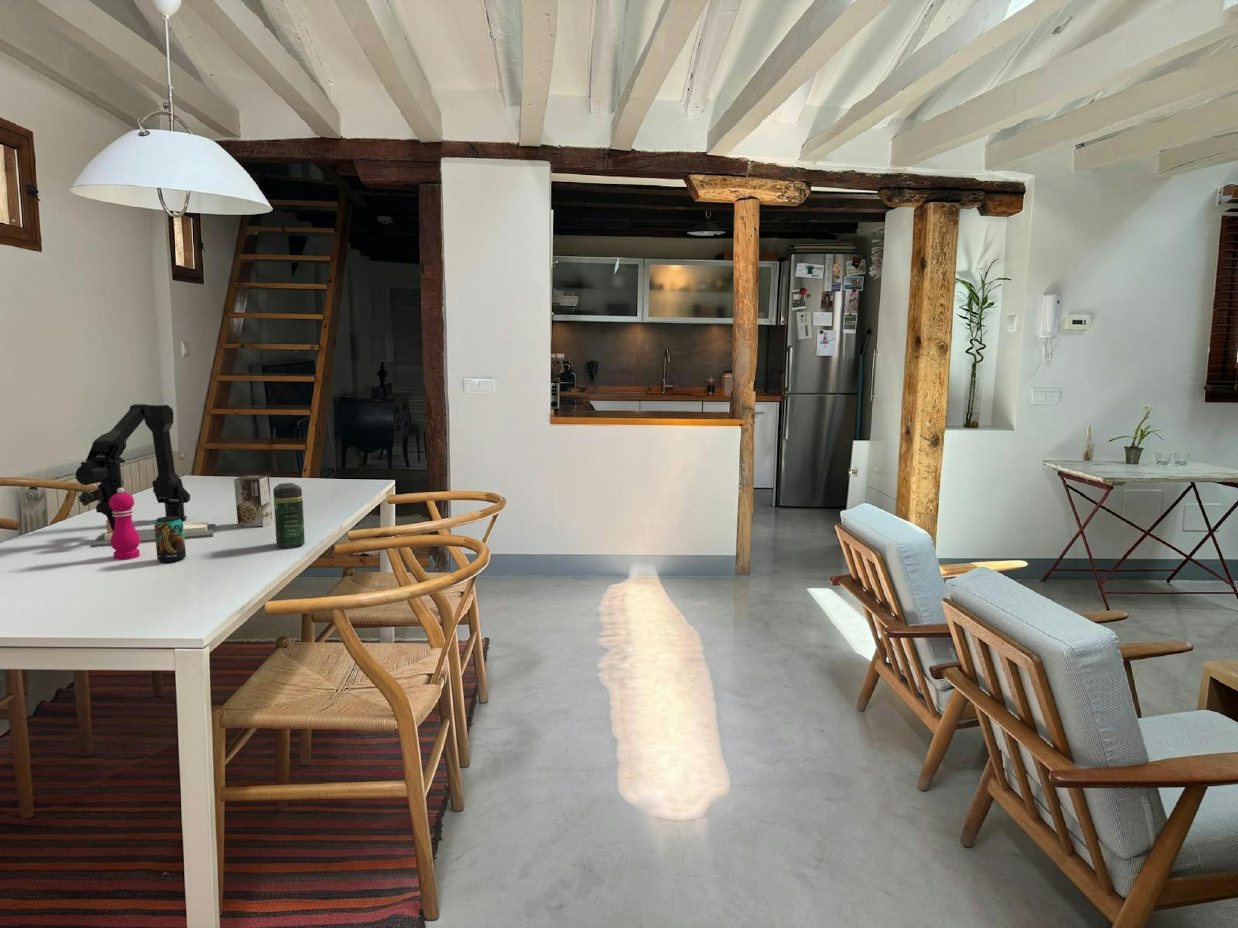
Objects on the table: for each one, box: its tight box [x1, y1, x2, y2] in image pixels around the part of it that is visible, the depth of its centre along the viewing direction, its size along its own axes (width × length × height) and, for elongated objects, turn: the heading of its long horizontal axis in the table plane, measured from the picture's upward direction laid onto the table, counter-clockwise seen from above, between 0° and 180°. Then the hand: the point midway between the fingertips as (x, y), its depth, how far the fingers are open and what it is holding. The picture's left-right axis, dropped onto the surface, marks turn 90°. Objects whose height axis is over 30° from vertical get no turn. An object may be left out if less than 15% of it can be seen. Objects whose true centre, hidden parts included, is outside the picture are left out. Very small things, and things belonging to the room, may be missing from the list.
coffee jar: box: [272, 482, 306, 549], centre depth 240 cm, size 10×8×19 cm
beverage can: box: [153, 516, 187, 564], centre depth 224 cm, size 7×7×12 cm
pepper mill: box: [109, 487, 141, 561], centre depth 226 cm, size 7×7×20 cm
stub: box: [104, 518, 113, 540], centre depth 248 cm, size 8×6×6 cm
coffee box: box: [233, 475, 273, 527], centre depth 267 cm, size 9×6×16 cm
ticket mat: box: [92, 521, 216, 548], centre depth 252 cm, size 16×32×2 cm, turn 114°
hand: (115, 529), depth 248 cm, fingers closed on stub, 4 cm apart
